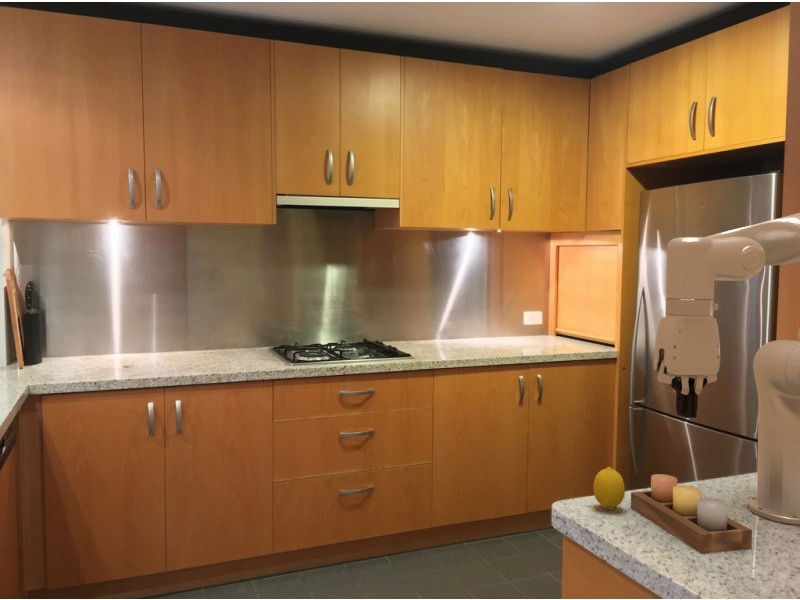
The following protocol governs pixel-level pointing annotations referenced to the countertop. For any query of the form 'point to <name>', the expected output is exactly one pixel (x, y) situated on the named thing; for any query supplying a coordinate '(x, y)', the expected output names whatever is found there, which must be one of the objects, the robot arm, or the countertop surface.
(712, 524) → the grey short rounded cylinder
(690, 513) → the yellow short cylinder
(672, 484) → the pink cylinder
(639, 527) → the countertop surface
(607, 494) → the lemon
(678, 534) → the wooden compartment tray
